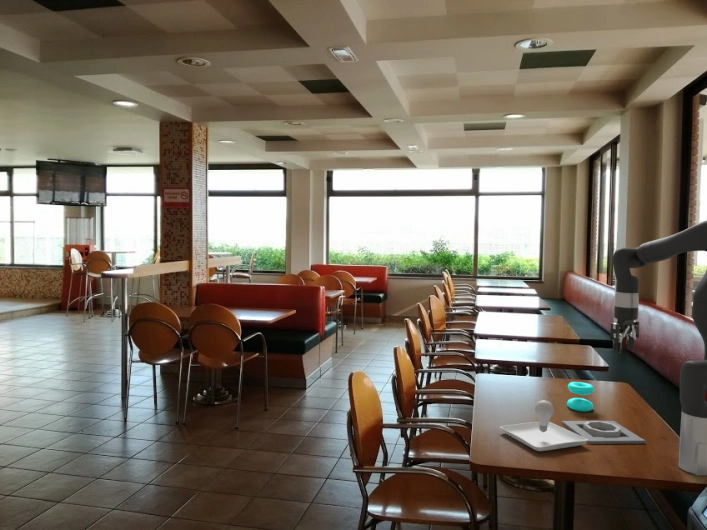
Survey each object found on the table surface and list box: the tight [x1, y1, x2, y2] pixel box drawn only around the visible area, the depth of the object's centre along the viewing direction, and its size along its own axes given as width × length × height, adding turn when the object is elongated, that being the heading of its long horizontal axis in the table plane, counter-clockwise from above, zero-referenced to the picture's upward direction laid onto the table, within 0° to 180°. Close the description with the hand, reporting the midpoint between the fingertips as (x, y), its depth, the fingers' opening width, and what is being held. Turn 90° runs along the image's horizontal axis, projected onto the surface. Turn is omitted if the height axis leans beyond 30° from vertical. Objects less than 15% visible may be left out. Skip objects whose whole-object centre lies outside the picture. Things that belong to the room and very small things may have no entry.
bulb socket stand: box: [561, 420, 646, 445], centre depth 199 cm, size 20×20×2 cm
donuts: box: [566, 381, 595, 412], centre depth 227 cm, size 10×10×10 cm
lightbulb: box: [534, 399, 554, 432], centre depth 191 cm, size 6×6×11 cm
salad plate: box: [499, 421, 588, 452], centre depth 191 cm, size 21×21×3 cm
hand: (623, 351), depth 195 cm, fingers open, 8 cm apart
